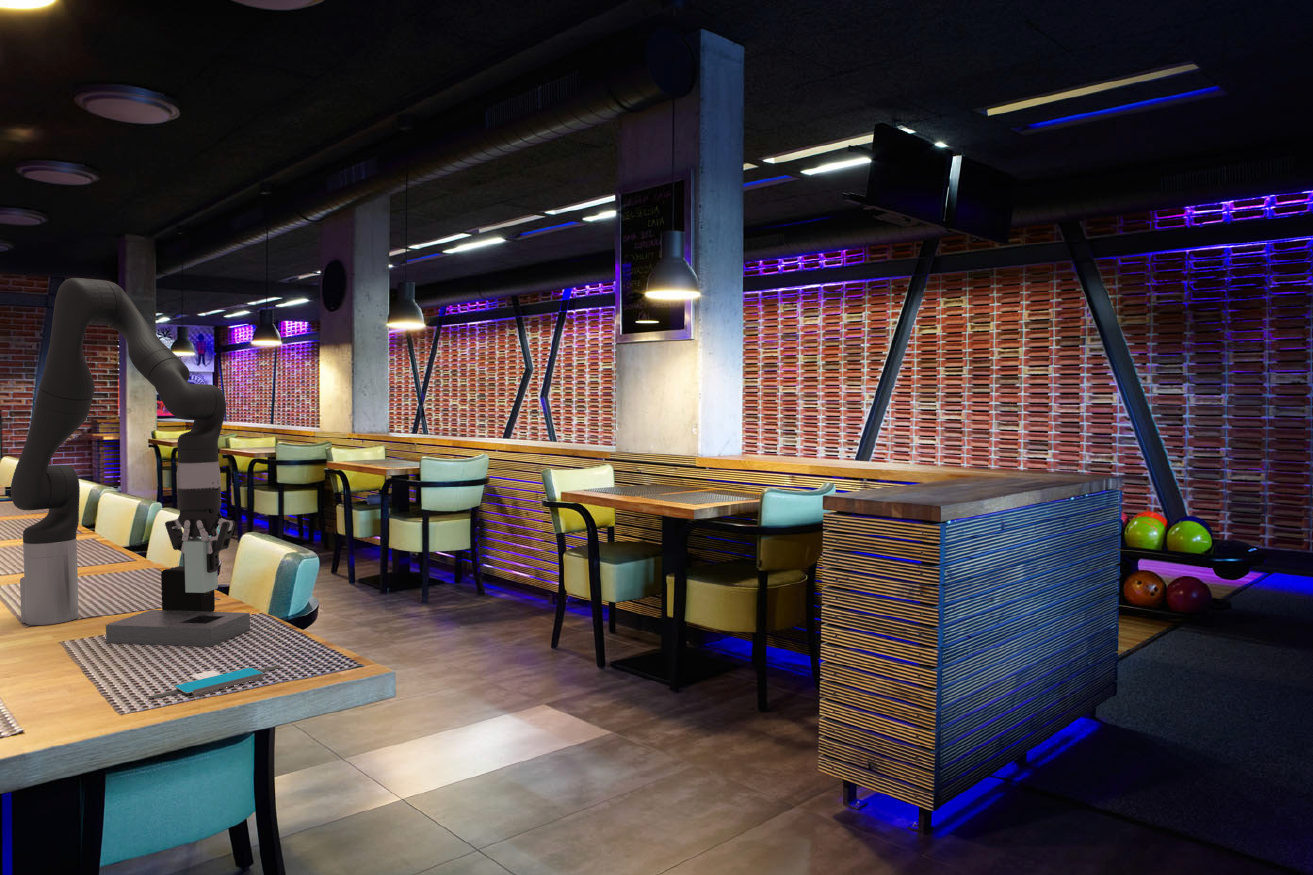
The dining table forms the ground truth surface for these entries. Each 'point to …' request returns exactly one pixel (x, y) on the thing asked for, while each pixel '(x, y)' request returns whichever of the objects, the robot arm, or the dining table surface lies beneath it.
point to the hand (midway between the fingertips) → (201, 571)
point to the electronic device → (183, 593)
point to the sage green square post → (198, 568)
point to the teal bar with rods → (216, 681)
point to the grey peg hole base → (178, 628)
